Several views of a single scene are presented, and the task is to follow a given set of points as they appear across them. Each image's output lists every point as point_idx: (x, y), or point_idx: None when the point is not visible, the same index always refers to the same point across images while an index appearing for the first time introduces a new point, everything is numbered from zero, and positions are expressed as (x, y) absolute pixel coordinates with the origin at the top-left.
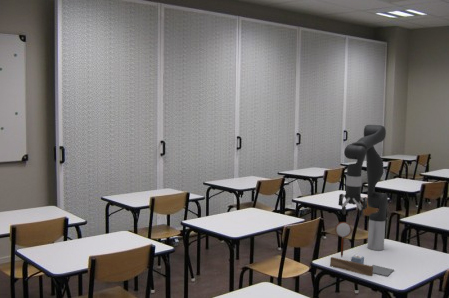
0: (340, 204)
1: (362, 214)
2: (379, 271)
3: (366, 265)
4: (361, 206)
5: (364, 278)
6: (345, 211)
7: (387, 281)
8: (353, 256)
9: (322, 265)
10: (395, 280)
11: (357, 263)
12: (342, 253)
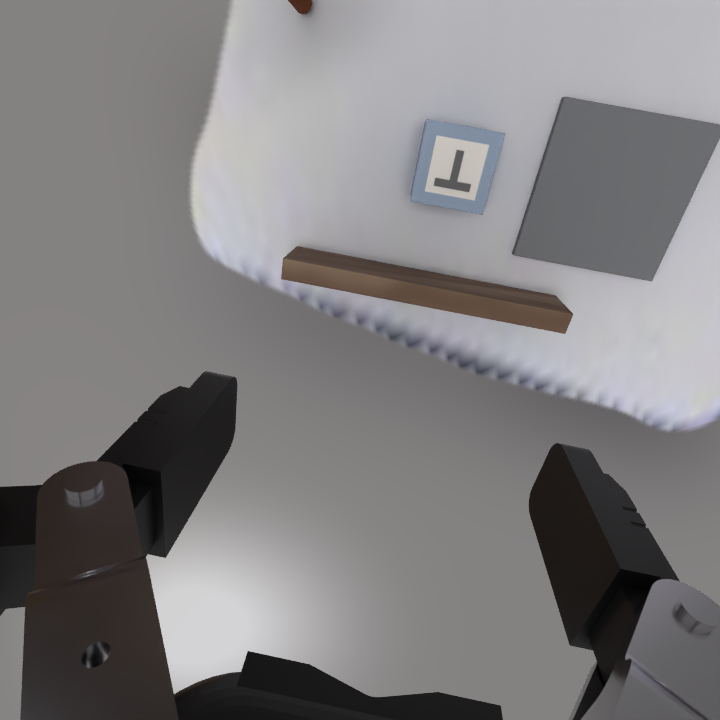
0: (4, 607)
1: (624, 507)
2: (605, 228)
3: (528, 316)
4: (694, 690)
5: (510, 365)
6: (215, 408)
7: (639, 352)
8: (422, 177)
9: (253, 275)
10: (692, 316)
11: (467, 305)
12: (305, 4)
